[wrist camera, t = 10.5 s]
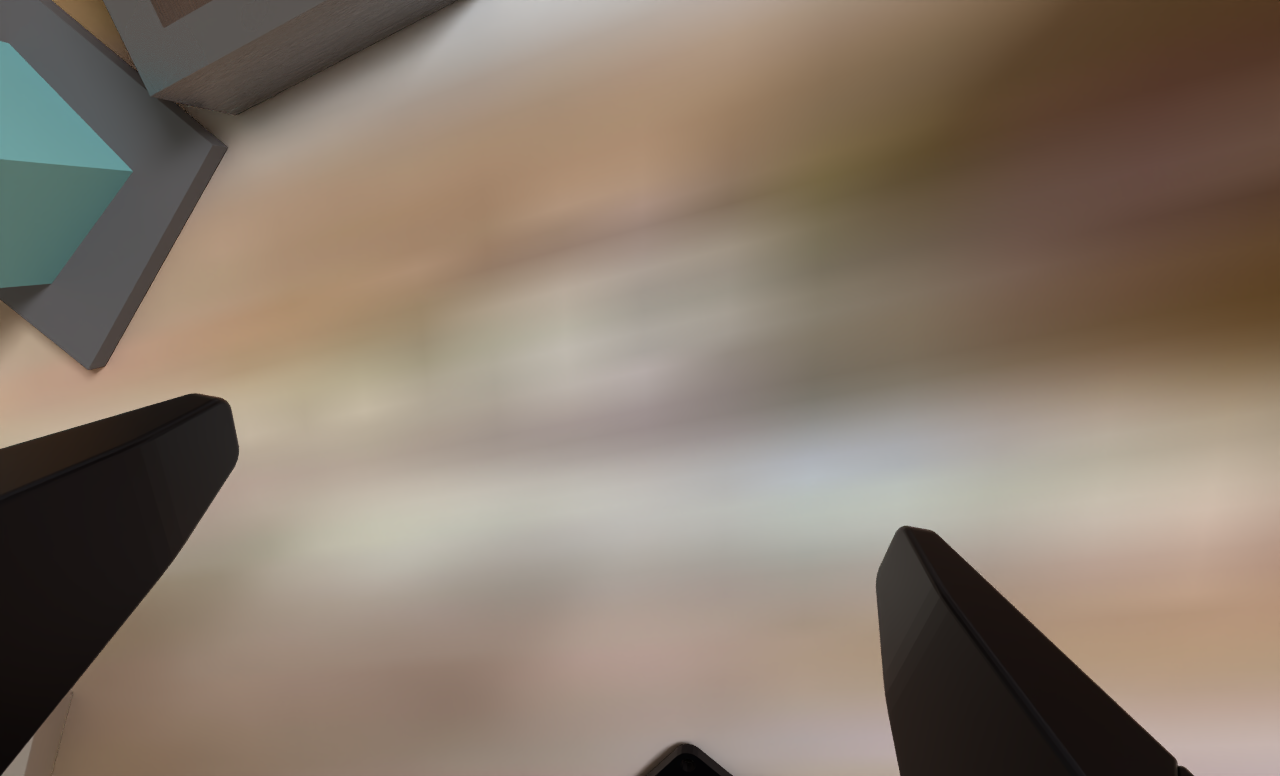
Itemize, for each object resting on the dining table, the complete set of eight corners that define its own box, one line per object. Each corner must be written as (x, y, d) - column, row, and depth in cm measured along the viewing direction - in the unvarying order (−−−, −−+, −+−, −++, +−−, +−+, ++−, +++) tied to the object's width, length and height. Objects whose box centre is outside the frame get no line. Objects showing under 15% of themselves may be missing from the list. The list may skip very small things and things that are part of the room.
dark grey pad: (104, 366, 23) (87, 369, 22) (-112, 191, 22) (-135, 191, 22) (227, 147, 20) (212, 145, 20) (-13, -53, 20) (-36, -62, 19)
